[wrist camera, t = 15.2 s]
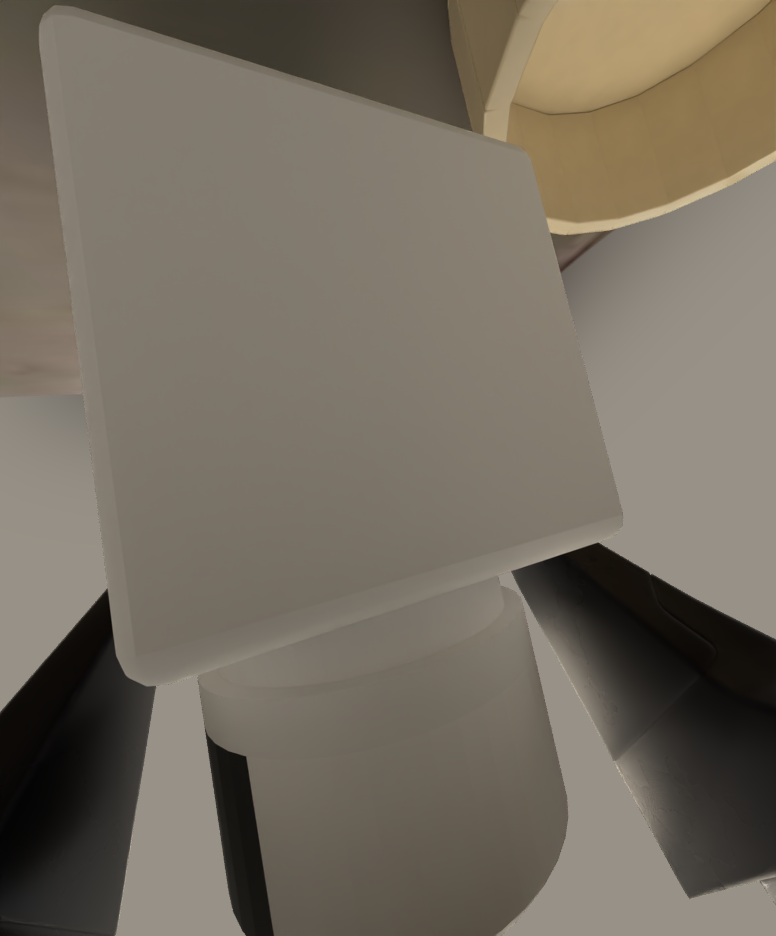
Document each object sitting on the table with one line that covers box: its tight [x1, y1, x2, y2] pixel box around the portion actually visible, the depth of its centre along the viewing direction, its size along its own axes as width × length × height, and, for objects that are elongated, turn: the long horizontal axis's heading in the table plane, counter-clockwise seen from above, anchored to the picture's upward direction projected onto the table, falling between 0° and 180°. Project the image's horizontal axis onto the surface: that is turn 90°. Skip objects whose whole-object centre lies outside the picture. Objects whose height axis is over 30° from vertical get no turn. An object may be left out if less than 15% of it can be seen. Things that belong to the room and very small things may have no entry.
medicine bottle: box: [39, 5, 623, 936], centre depth 8 cm, size 7×7×12 cm
